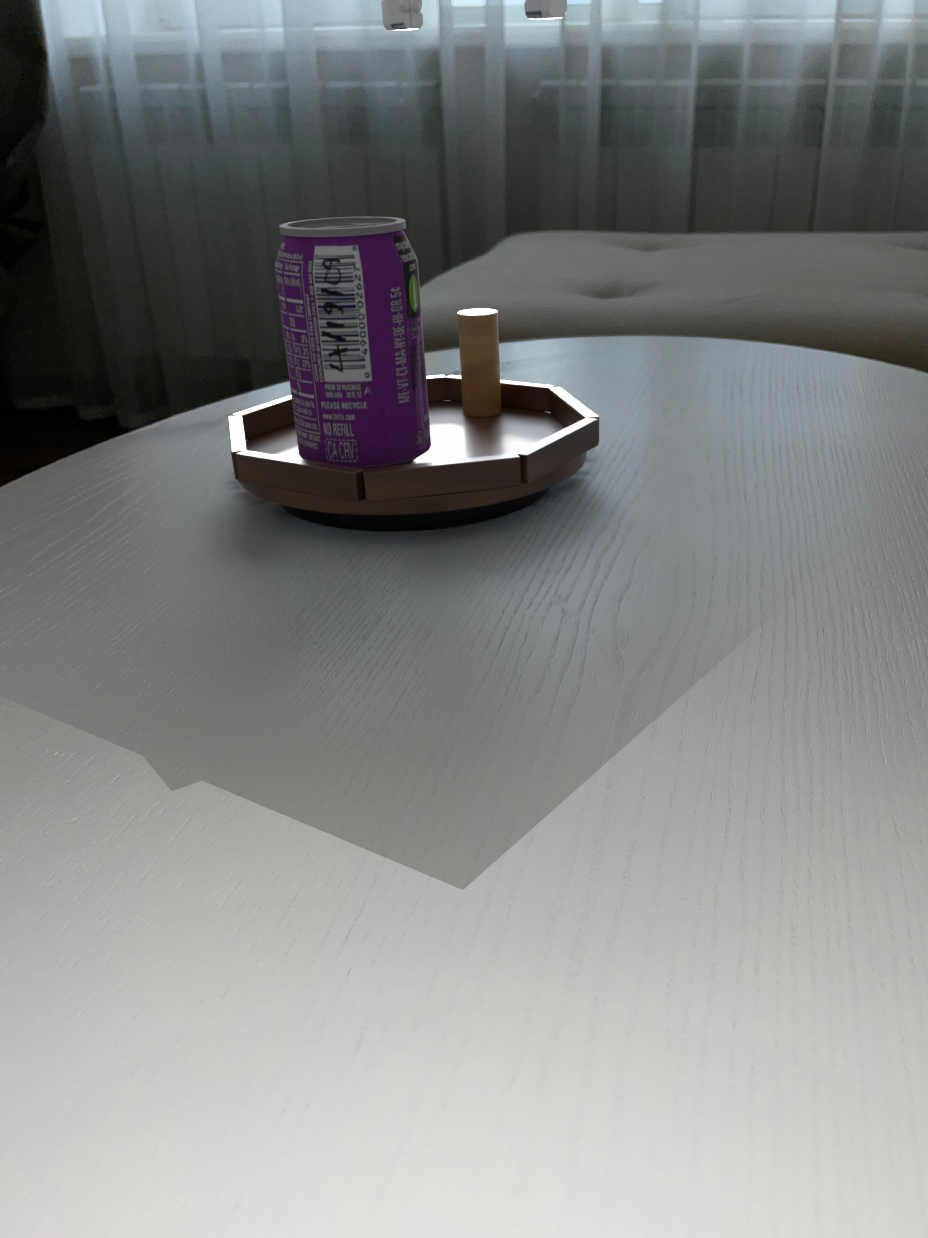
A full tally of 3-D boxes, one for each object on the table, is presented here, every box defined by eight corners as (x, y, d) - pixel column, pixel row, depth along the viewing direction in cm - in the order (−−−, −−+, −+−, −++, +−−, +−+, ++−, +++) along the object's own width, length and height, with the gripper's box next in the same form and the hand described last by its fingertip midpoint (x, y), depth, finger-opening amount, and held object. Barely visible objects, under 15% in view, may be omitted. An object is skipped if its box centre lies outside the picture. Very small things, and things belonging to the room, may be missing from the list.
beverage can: (459, 459, 60) (444, 219, 54) (356, 491, 55) (328, 233, 50) (375, 437, 64) (354, 213, 58) (274, 465, 60) (240, 226, 54)
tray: (463, 539, 51) (454, 390, 48) (159, 483, 60) (134, 354, 57) (645, 434, 66) (647, 315, 63) (379, 402, 75) (369, 296, 72)
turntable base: (232, 481, 66) (228, 456, 65) (457, 433, 74) (455, 411, 73) (359, 555, 54) (356, 526, 54) (609, 489, 62) (609, 463, 62)
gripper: (685, -353, 49) (674, 13, 56) (342, -264, 59) (368, 36, 66) (613, -396, 44) (611, 8, 51) (256, -292, 55) (293, 34, 61)
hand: (471, 24), depth 58 cm, fingers open, 8 cm apart
